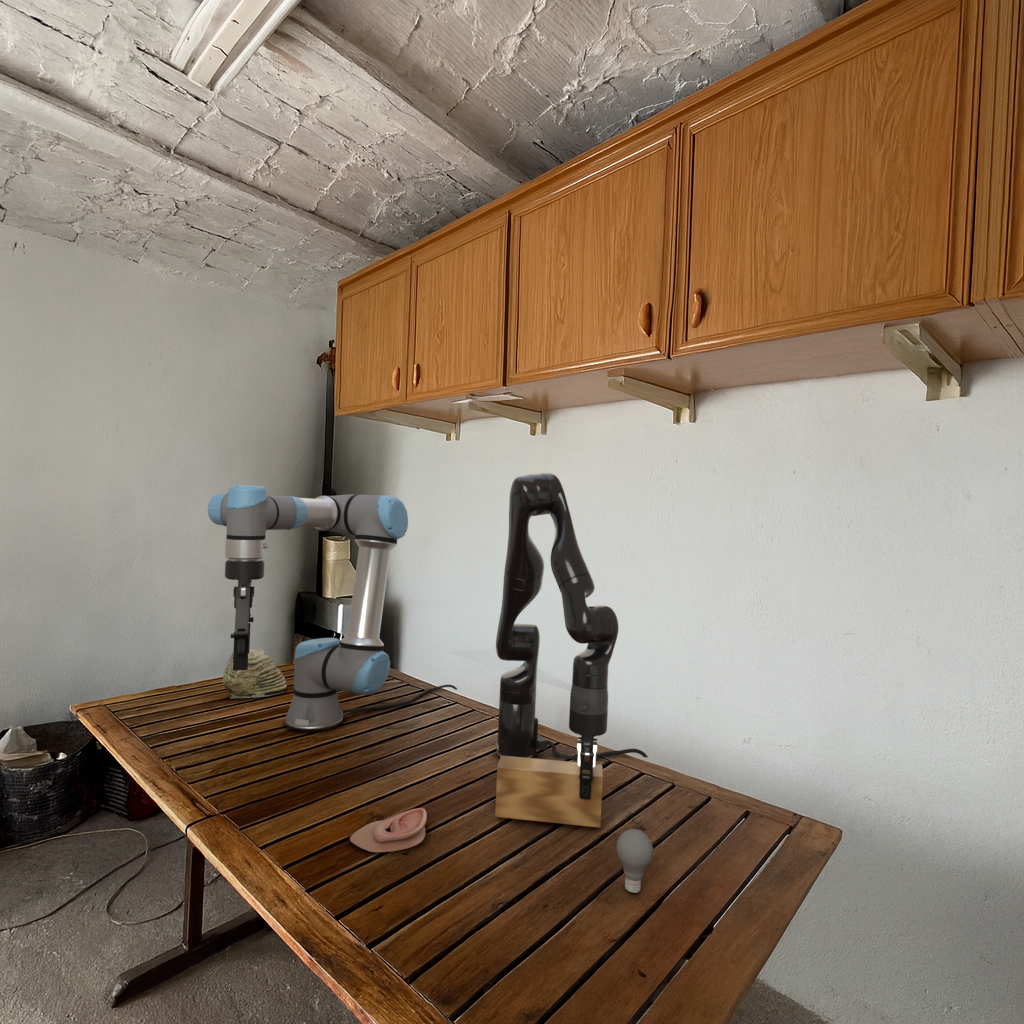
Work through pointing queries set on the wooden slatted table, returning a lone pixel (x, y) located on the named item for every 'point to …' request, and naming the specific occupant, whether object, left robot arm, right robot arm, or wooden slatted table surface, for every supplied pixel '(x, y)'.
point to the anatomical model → (392, 832)
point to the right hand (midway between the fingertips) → (584, 790)
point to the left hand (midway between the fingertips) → (241, 661)
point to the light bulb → (634, 857)
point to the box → (546, 791)
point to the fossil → (254, 677)
